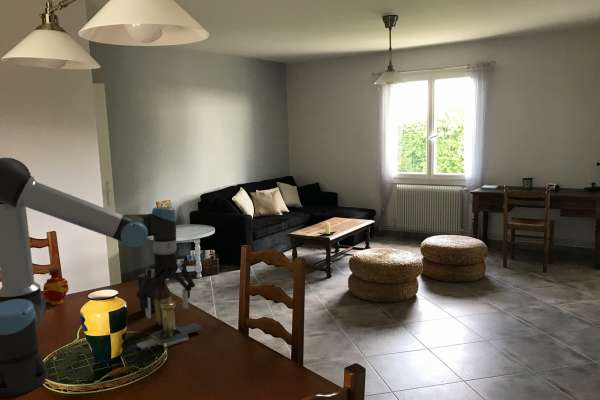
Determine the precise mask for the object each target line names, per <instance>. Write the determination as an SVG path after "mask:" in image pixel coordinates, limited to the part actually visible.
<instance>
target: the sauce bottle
mask: <svg viewBox="0 0 600 400" xmlns="http://www.w3.org/2000/svg"><path fill="white" fill-rule="evenodd" d="M167 284H168V283H167V279H166V280H161V281H160V282H159V283H158V284H157V286H156V287H155V289H154V304H155V312H154V314H155V320H156V324H157V326H161V327H163V314H162V309H161V308H160V304H161V303H163V302H168V301H172V294H171V291H170V289H169V287H168V285H167Z"/></svg>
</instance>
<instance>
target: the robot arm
mask: <svg viewBox="0 0 600 400" xmlns="http://www.w3.org/2000/svg"><path fill="white" fill-rule="evenodd" d="M27 208H28V209H30V210H33V211H36V212H39V213H41V214H45V215H48V216H50V217H52V218H53V217H54V218H56V219H58V220H61V221H64V222H67V223H69V224H73V225H75V226H78V227H81V228H83V229H87V230H89V231H91V232H95V233H98V234H100V235H103V236H106V237H108V238H111V239H113V240H117V241H119V242H121V243H123V244H124V245H125V246H127V247H128V248H139V247H141V246H143V244H145V243H146V242H147V239H148V237H153V240H152V241H153V252H154V254H153V265H154V267H153V268H148V267H146V268H145V269H144V273H145V276H144V278H143V280H142V283H141V285H140V288H139V287H138V291H137V292H136V297H137V298H138V299H139V298H140V299H142V303H143V308H145V312H146V313H145V317H146V318H147V319H152V313H151V304H150V298H148V297H149V296H150V294H151V293H152V291H153V290H154V289H155V287H156V286H157V284H158V283H159V282H160V281H161V280H166V281H167V279H169V280H172V279H173V278H174V280H176V281H177V282H178V283H179V284H180V285H181V286H182V289H181V290H182V292H181V293H182V296H181V298H182V308H184V309H186V310H188V309H189V299H190V298H191V290H192V288H195V286H196V284H195V282H194V281H193V279H192V277H191V275H190V273H189V271H188V269H187V264H186V263H185V262H182V261H181V262H180V263H178V253H177V249H178V246H177V219H176V209H175V208H174V207H172V206H156V207H152V211H151V213H145V214H143V213H142V214H121V213H118V212H116V211H113V210H110V209H108V208H105V207H102V206H100V205H97V204H95V203H94V202H93V203H92V202H90V201H87V200H85V199H82V198H79V197H77V196H74V195H72V194H69V193H66V192H64V191H61V190H58V189H57V188H56V189H55V188H54V187H51V186H48V185H46V184H44V183H40V182H38V181H36V179H35V177H34V176H33V175H31V172H30V170H29V167H28V166H27V165H25V163H24V162H22V161H20V160H18V159H15V158H13V157H0V280H1V288H0V398H11V397H16V396H20V395H23V394H25V393H28V392H30V391H33V390H35V389H37V388H39V387H41V386H42V385H44V383H45V382H46V381H45V379H47V380H48V377H49V374H48V368H47V366H46V364H45V362H44V360H43V359H42V357H41V354H40V353H39V344H38V335H37V333H38V327H39V325H40V322H41V321H42V319H43V318H44V316H45V312H46V302H45V299H44V297H43V295H42V289H41V285H40V284H39V283H37V282H36V281H35V277H34V276H35V275H34V267H33V259H32V250H31V241H30V233H29V222H28V216H27V215H28V213H27ZM178 269H179V270H180V272H181V274H182V275H183V277H184V279H185V280H184V279H182V277H181V276H180V275H179V274H178V273H177V271H179V270H178ZM153 273H155V276H154V277H153V280H152V281H151V283H150V284H149V286H148V283H149V281H150V278H151V275H153ZM147 286H148V287H147ZM146 288H147V289H146ZM44 381H45V382H44Z"/></svg>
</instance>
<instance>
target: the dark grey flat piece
mask: <svg viewBox="0 0 600 400" xmlns="http://www.w3.org/2000/svg"><path fill="white" fill-rule="evenodd" d="M202 329H203V327H202V325H200V324H199V323H197V322H194V323H191V324H187V325H183V326H177V325H175V330H176V335H174V336H171V337H168V338H165V337H164V330H163V329H161V330H157V331H153V332H152V337H153V336H154V337H155V338H157V339H158V340H159V341H157V340H156V339H153V338H150V339H146V340H144V341H141V342H138V343H136V347H137V346H138V347H140V348H141V349H142V350H143V349H145V348H148V347H151V346H154V345H156V344H158V343H160V342H161V343H163V344H164V343H166V345H167V347H171V346H173V345H177V344H179V343H183V342H186V341H189V334H191V333H194V332H199V331H201V330H202ZM138 347H137V348H138Z"/></svg>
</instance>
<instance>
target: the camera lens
mask: <svg viewBox="0 0 600 400" xmlns="http://www.w3.org/2000/svg"><path fill="white" fill-rule="evenodd" d="M144 276H145V272H144V273H141V274H139V275H138V279H137V281H138V282H137V284H138V285H137V286H138V289H139V288H140V285H141V283H142V280H143V278H144ZM154 276H155V273H153V275H151V278H150V281H149V283H148V286H149V284H150V283H151V281H152V280H153V277H154ZM148 286H147V287H148ZM146 289H147V288H146ZM148 298H150V304H151V314H155V304H154V290H153V291H152V293H151V294H150V296H149V297H148ZM138 299H139V307H140V309H141V312H142V314H146V312H145V308H143V303H142V299H140V298H138Z"/></svg>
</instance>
